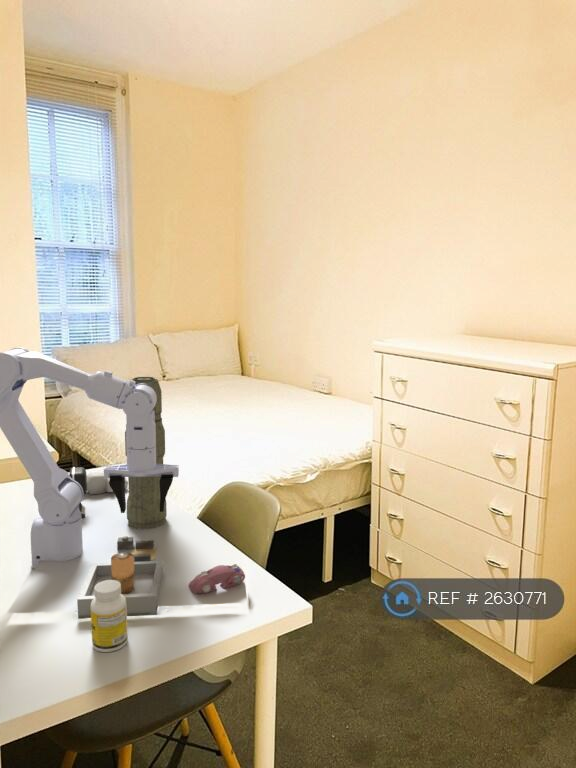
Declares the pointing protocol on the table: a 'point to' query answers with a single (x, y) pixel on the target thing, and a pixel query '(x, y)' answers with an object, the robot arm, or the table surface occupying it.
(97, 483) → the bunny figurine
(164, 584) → the table surface
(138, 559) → the brown stand base
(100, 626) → the supplement bottle
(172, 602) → the table surface
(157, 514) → the thermos
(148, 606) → the tray
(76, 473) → the battery charger
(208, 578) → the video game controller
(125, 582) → the cell
